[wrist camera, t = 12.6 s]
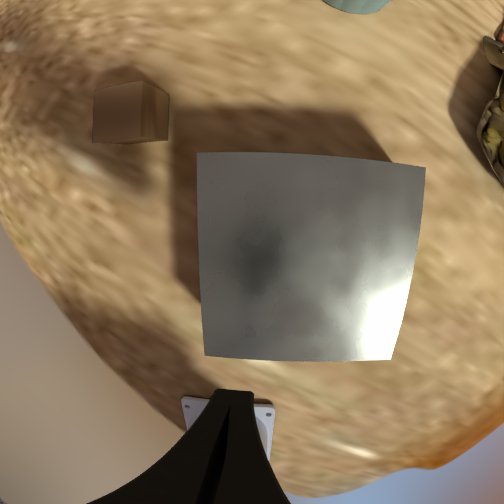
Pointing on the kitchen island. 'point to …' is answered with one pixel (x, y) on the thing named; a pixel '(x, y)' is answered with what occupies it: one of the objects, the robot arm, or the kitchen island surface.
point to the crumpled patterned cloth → (494, 111)
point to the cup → (358, 5)
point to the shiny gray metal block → (305, 254)
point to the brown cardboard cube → (130, 114)
